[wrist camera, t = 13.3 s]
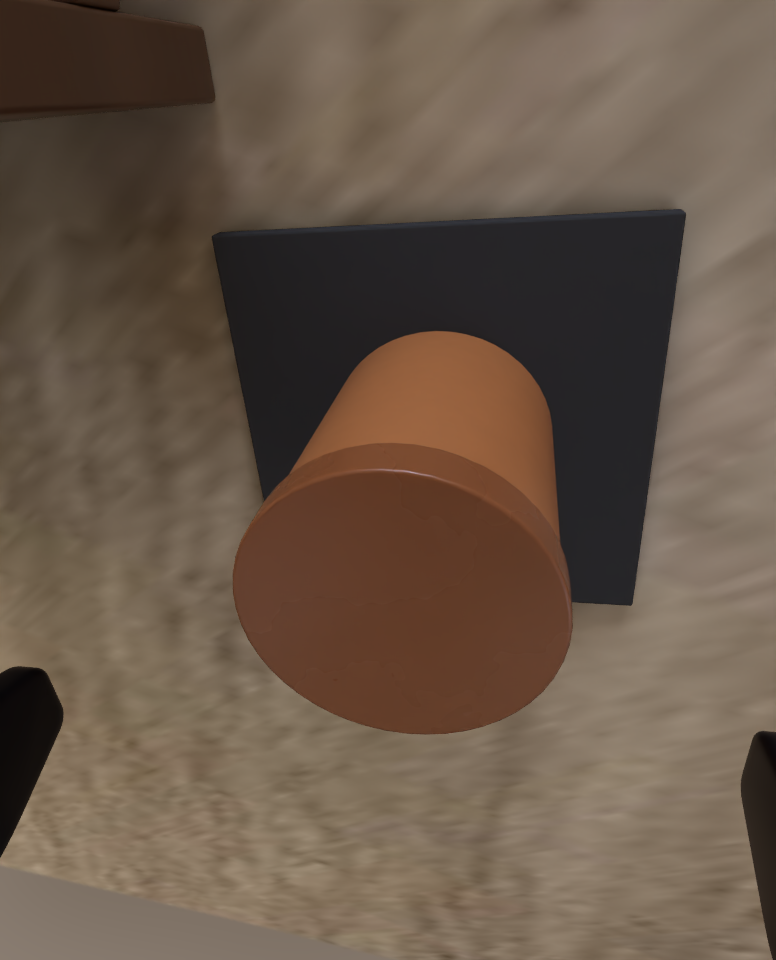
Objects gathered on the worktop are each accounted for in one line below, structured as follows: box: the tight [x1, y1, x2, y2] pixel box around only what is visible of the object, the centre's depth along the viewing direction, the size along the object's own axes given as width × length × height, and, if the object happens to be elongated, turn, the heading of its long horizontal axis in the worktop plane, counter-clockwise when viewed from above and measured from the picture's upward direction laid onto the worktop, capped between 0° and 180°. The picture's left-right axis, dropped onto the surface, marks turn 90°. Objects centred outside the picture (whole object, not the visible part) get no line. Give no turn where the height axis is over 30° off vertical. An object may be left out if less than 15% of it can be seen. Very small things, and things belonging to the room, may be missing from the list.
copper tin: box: [233, 331, 573, 734], centre depth 12 cm, size 5×5×6 cm
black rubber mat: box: [212, 209, 686, 606], centre depth 15 cm, size 9×9×1 cm
